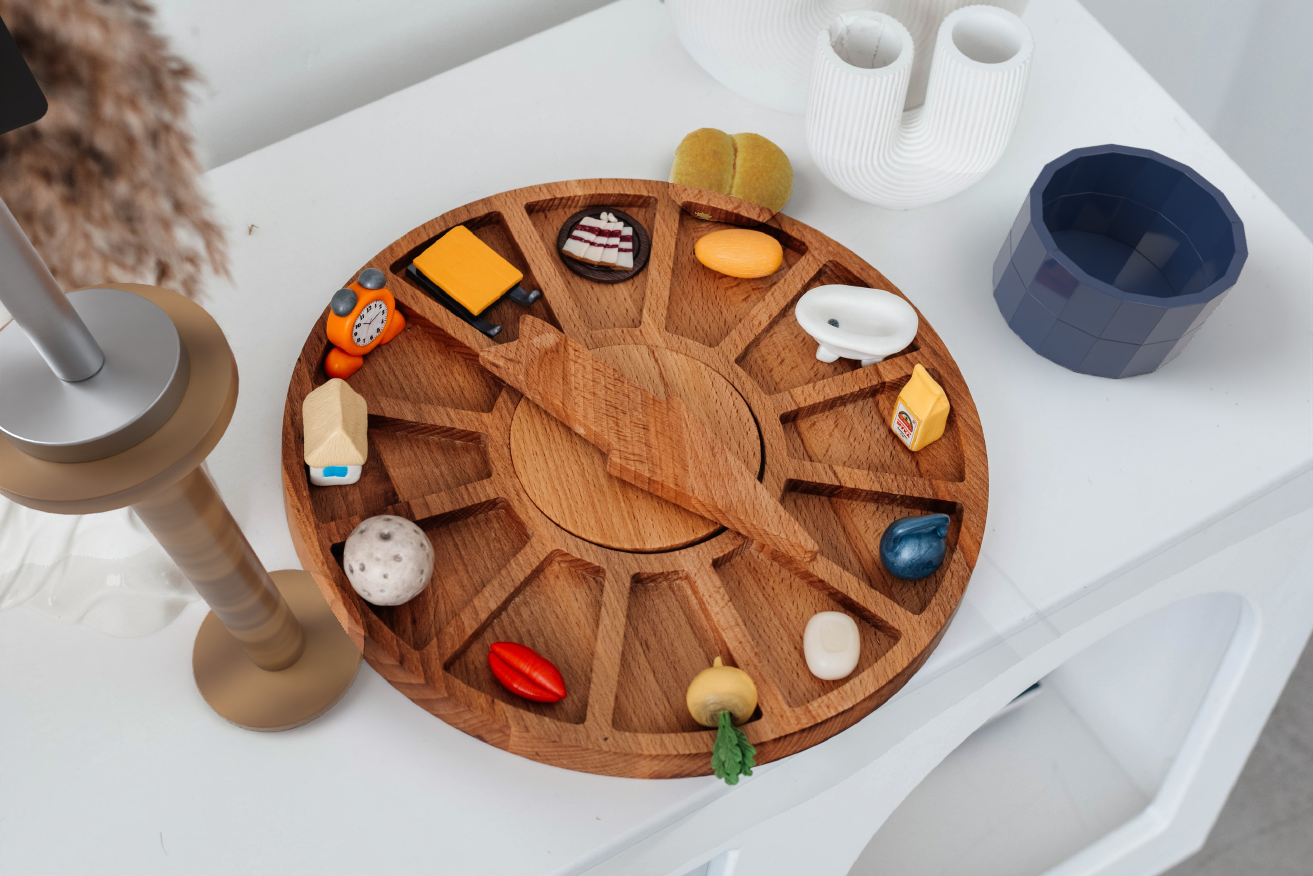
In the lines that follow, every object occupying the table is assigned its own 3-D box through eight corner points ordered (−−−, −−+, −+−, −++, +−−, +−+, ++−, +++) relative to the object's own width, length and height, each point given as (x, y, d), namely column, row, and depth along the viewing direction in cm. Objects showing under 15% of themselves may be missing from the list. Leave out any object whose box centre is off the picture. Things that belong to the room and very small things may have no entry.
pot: (1227, 323, 75) (1291, 245, 68) (1094, 415, 70) (1148, 342, 63) (1082, 200, 80) (1128, 117, 73) (950, 278, 75) (986, 197, 68)
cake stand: (394, 670, 59) (275, 415, 37) (239, 766, 56) (6, 551, 34) (319, 546, 62) (169, 245, 40) (169, 630, 59) (-83, 354, 37)
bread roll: (786, 239, 76) (795, 199, 73) (661, 222, 77) (664, 181, 73) (794, 156, 81) (803, 115, 77) (675, 140, 81) (679, 98, 77)
